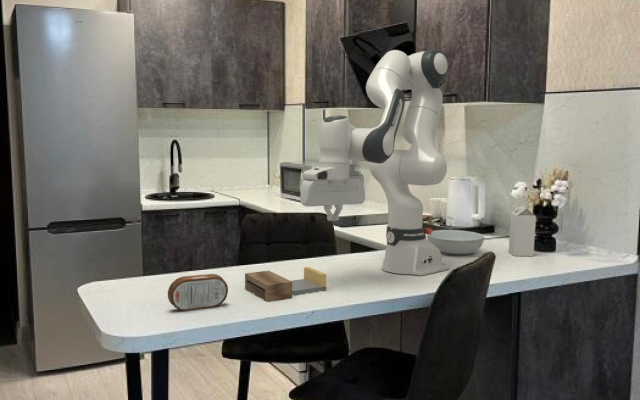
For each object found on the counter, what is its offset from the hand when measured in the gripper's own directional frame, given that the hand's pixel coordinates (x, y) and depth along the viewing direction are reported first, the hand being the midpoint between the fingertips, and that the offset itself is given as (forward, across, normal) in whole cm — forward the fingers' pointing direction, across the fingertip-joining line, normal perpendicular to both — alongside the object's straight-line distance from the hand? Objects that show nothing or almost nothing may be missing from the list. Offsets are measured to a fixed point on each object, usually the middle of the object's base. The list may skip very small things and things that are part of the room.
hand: (332, 220), depth 174 cm
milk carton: (+19, -86, -4) cm, 88 cm away
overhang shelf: (+19, +21, 0) cm, 28 cm away
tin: (+19, +42, +4) cm, 46 cm away
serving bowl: (+19, -66, -18) cm, 71 cm away
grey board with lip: (+19, +10, 0) cm, 22 cm away
